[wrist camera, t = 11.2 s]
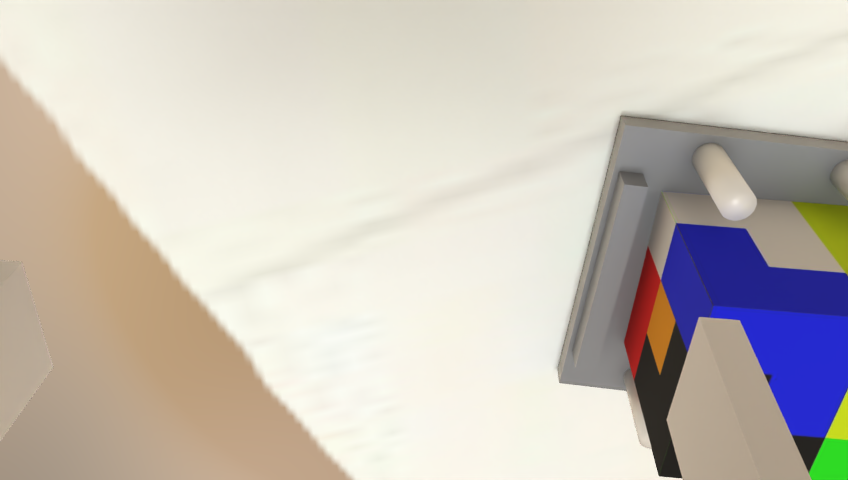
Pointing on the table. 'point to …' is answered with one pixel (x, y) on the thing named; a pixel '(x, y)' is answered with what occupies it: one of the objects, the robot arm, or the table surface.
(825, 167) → the tray
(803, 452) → the puzzle toy
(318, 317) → the table surface
